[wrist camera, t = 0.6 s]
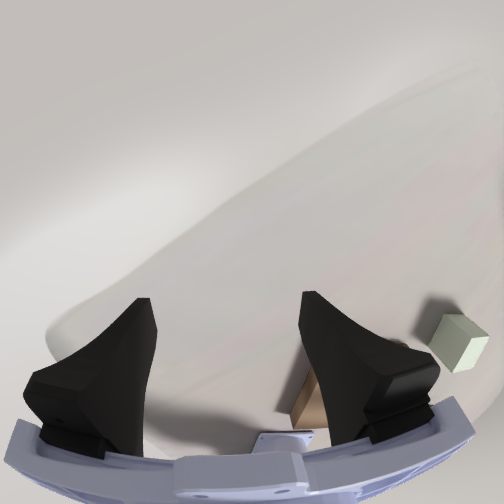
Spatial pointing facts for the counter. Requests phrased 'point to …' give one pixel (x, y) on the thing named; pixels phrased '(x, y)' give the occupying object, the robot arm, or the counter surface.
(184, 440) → the counter surface
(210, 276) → the counter surface
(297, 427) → the walnut block
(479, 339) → the sage block
